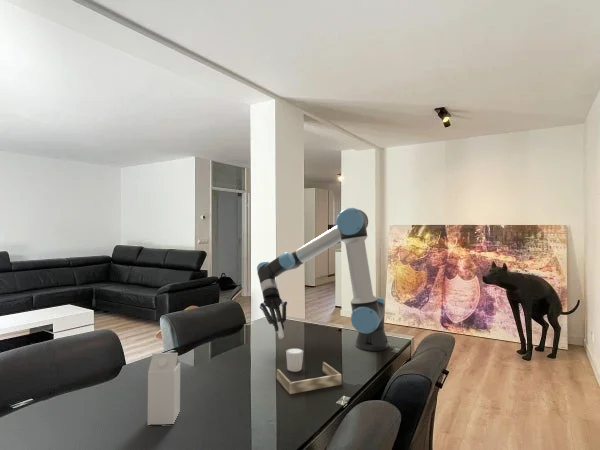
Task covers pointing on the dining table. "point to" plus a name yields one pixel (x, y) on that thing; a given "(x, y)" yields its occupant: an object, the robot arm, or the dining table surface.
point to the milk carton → (163, 388)
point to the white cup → (294, 359)
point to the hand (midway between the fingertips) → (281, 337)
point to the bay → (311, 381)
